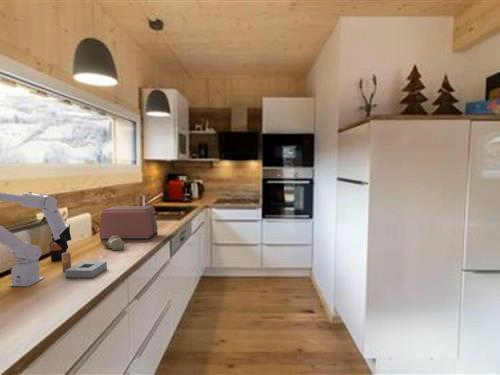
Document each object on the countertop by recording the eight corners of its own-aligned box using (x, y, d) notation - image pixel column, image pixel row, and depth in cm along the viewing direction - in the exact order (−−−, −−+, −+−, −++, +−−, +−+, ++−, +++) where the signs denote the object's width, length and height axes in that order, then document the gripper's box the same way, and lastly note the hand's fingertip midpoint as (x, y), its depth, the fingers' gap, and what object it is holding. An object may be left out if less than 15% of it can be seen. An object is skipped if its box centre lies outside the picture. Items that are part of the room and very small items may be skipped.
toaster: (153, 242, 195) (151, 209, 194) (98, 243, 195) (96, 210, 194) (161, 235, 214) (160, 205, 213) (112, 235, 214) (110, 206, 213)
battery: (67, 257, 166) (66, 238, 165) (59, 261, 159) (58, 242, 158) (58, 257, 166) (57, 238, 165) (50, 261, 159) (49, 242, 158)
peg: (68, 271, 143) (67, 254, 143) (60, 271, 144) (59, 254, 143) (73, 269, 147) (72, 252, 146) (65, 268, 147) (64, 252, 146)
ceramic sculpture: (107, 237, 172) (101, 234, 184) (108, 252, 173) (102, 248, 185) (127, 234, 179) (120, 231, 191) (128, 249, 179) (121, 245, 191)
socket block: (92, 278, 134) (91, 270, 134) (65, 278, 135) (64, 270, 135) (106, 269, 146) (106, 261, 146) (82, 268, 147) (81, 261, 147)
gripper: (61, 224, 136) (73, 249, 142) (67, 210, 149) (78, 234, 154) (43, 229, 134) (56, 255, 140) (51, 214, 147) (63, 238, 153)
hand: (67, 244), depth 147 cm, fingers open, 7 cm apart
